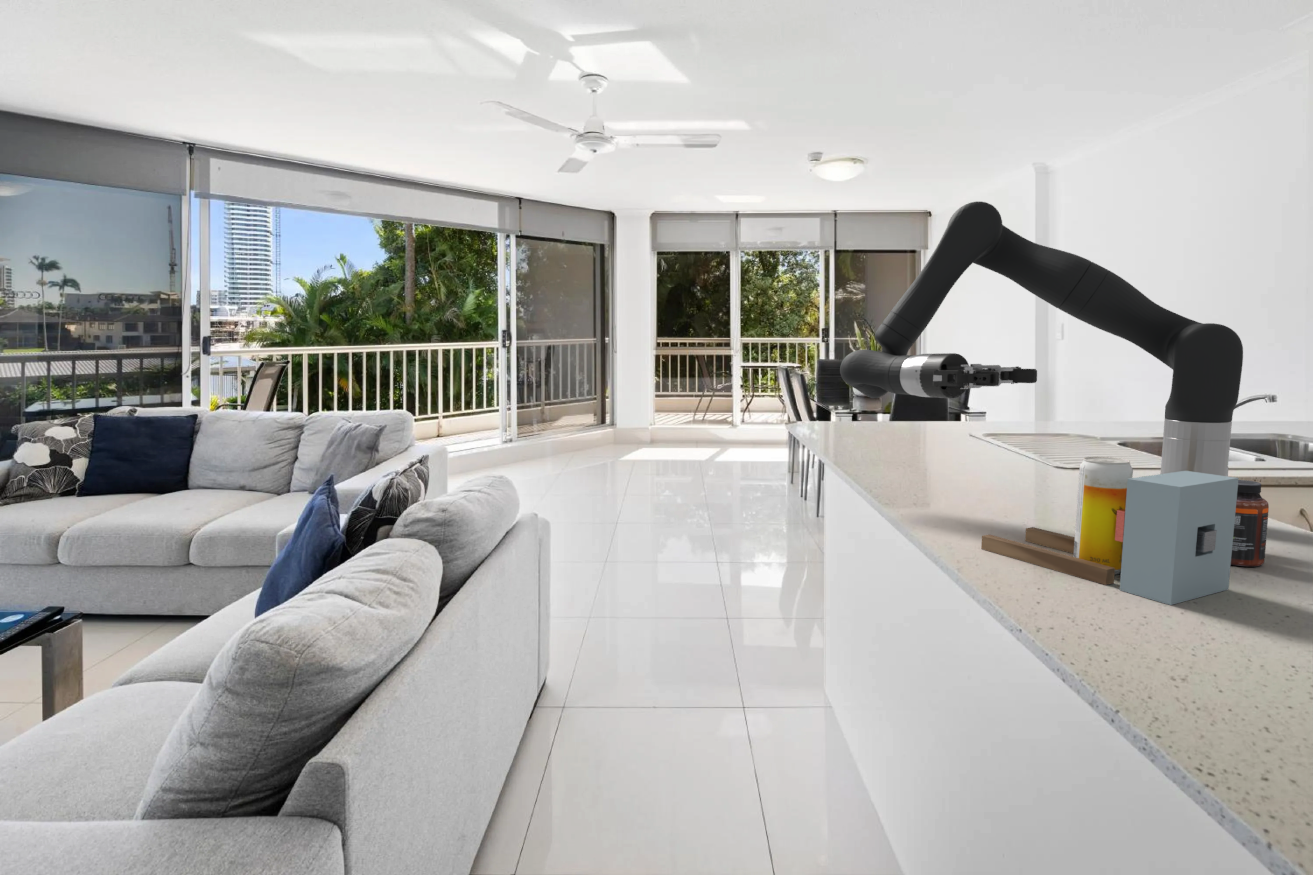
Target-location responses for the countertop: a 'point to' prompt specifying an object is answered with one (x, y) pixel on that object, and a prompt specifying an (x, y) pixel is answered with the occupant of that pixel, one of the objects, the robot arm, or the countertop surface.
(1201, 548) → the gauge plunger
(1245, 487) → the supplement bottle
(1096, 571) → the rail track
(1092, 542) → the beer can
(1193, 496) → the end cabinet
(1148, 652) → the countertop surface
